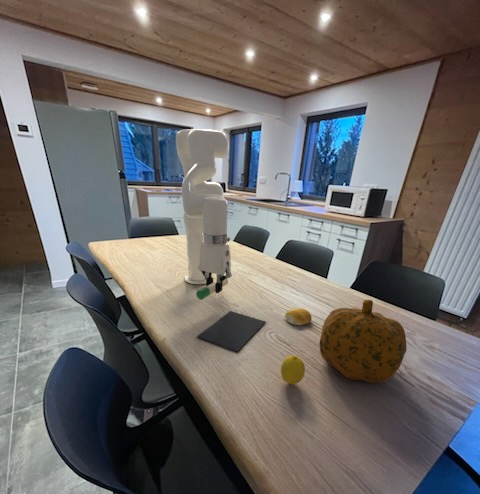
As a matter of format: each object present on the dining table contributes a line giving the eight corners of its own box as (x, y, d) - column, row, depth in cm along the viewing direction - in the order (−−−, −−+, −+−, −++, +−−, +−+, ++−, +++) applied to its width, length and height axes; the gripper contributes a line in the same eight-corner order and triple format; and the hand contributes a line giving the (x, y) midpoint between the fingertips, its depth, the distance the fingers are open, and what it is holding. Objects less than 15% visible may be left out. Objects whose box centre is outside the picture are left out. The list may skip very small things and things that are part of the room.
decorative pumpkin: (357, 405, 58) (379, 322, 51) (300, 356, 76) (311, 290, 69) (417, 385, 66) (443, 311, 59) (352, 345, 84) (366, 285, 77)
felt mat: (230, 312, 96) (230, 310, 96) (265, 322, 91) (265, 321, 91) (197, 337, 80) (197, 336, 80) (237, 352, 75) (237, 350, 75)
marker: (220, 283, 99) (221, 275, 98) (228, 285, 98) (228, 277, 97) (196, 298, 87) (195, 289, 86) (204, 300, 86) (204, 291, 84)
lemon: (277, 375, 67) (280, 349, 63) (298, 375, 67) (303, 349, 64) (282, 391, 62) (286, 364, 58) (304, 391, 62) (310, 364, 59)
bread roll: (315, 321, 93) (317, 311, 91) (296, 328, 88) (298, 317, 87) (298, 312, 99) (300, 302, 97) (280, 317, 95) (281, 307, 93)
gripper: (242, 240, 84) (239, 292, 93) (200, 232, 91) (201, 282, 99) (231, 245, 78) (228, 300, 87) (187, 236, 85) (188, 288, 93)
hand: (214, 290), depth 93 cm, fingers closed on marker, 3 cm apart
